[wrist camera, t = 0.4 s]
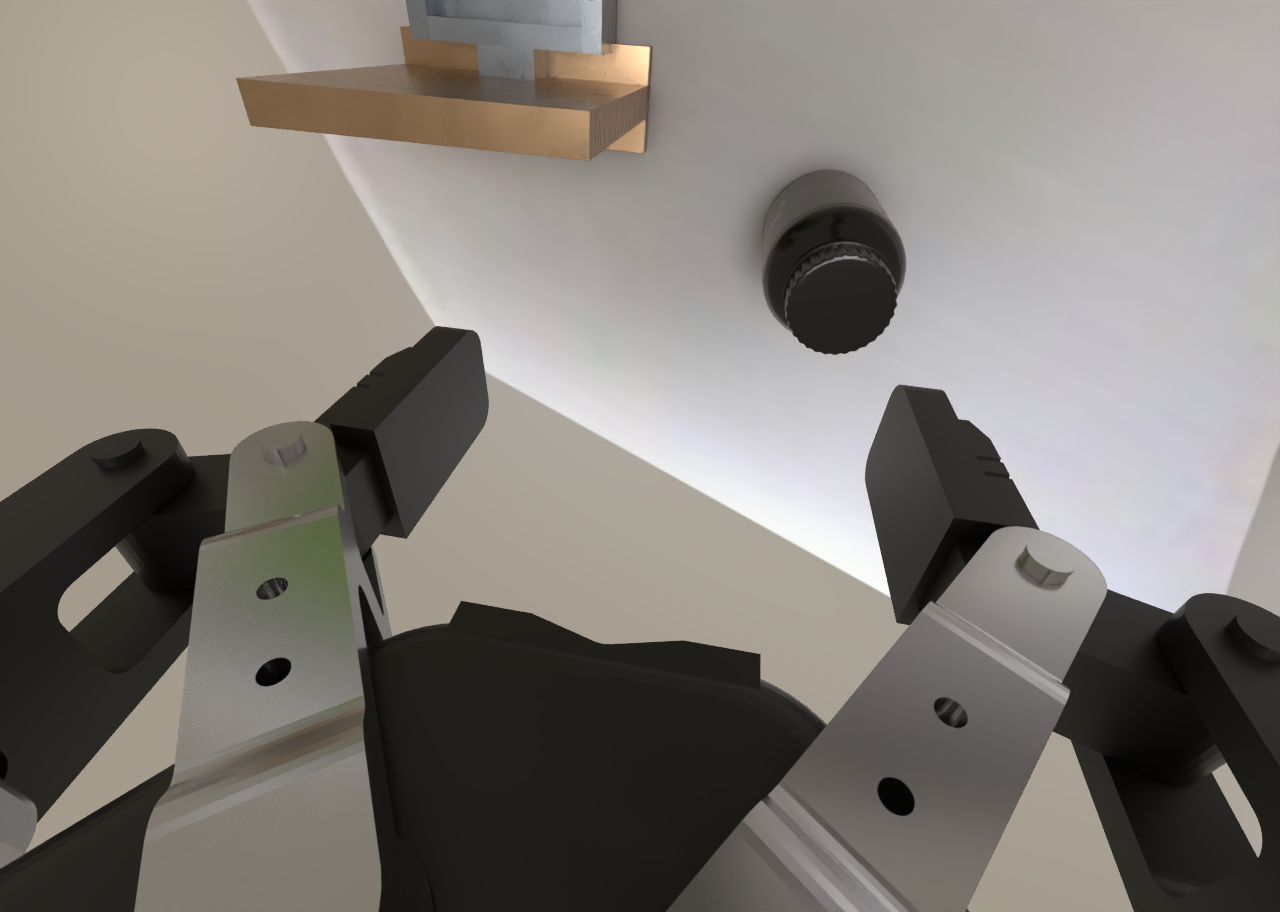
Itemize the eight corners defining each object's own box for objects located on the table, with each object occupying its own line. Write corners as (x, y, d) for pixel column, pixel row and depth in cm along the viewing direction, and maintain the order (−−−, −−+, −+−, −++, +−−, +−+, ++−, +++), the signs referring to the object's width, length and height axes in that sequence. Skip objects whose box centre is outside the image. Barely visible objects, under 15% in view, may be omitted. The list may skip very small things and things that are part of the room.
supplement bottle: (746, 199, 34) (741, 263, 25) (863, 146, 31) (908, 195, 22) (781, 301, 37) (788, 391, 28) (890, 261, 35) (938, 346, 25)
